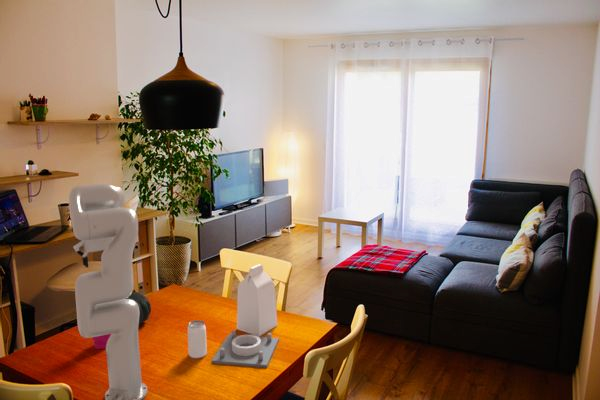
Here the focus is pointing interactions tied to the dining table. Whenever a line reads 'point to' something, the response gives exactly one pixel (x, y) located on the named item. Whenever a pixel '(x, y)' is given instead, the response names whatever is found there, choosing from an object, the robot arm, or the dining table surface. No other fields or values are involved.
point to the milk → (256, 303)
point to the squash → (141, 305)
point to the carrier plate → (246, 359)
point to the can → (197, 339)
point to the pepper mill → (101, 341)
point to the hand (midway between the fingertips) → (100, 264)
